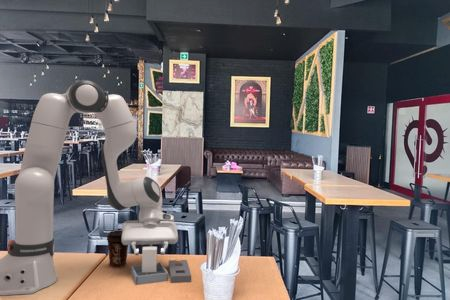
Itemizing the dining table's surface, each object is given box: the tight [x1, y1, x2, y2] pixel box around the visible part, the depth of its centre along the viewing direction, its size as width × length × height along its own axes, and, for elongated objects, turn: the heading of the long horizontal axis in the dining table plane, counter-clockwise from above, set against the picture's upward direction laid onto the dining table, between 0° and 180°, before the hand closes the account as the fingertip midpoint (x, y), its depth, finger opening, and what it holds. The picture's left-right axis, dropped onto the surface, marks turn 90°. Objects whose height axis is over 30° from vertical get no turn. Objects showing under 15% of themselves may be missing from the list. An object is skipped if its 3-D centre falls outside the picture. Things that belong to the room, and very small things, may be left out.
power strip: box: [168, 258, 192, 284], centre depth 130 cm, size 16×7×3 cm, turn 12°
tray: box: [130, 261, 169, 286], centre depth 126 cm, size 11×11×3 cm
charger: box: [141, 245, 158, 275], centre depth 126 cm, size 5×4×10 cm
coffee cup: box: [106, 229, 129, 270], centre depth 136 cm, size 9×8×13 cm
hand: (149, 254), depth 125 cm, fingers open, 8 cm apart
